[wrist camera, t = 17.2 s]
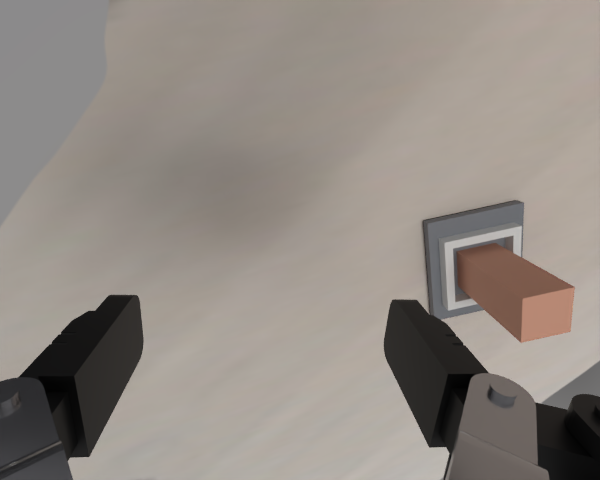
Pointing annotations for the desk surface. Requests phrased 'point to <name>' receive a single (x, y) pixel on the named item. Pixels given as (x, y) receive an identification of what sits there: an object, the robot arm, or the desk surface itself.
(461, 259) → the column
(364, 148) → the desk surface
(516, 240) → the baseplate
